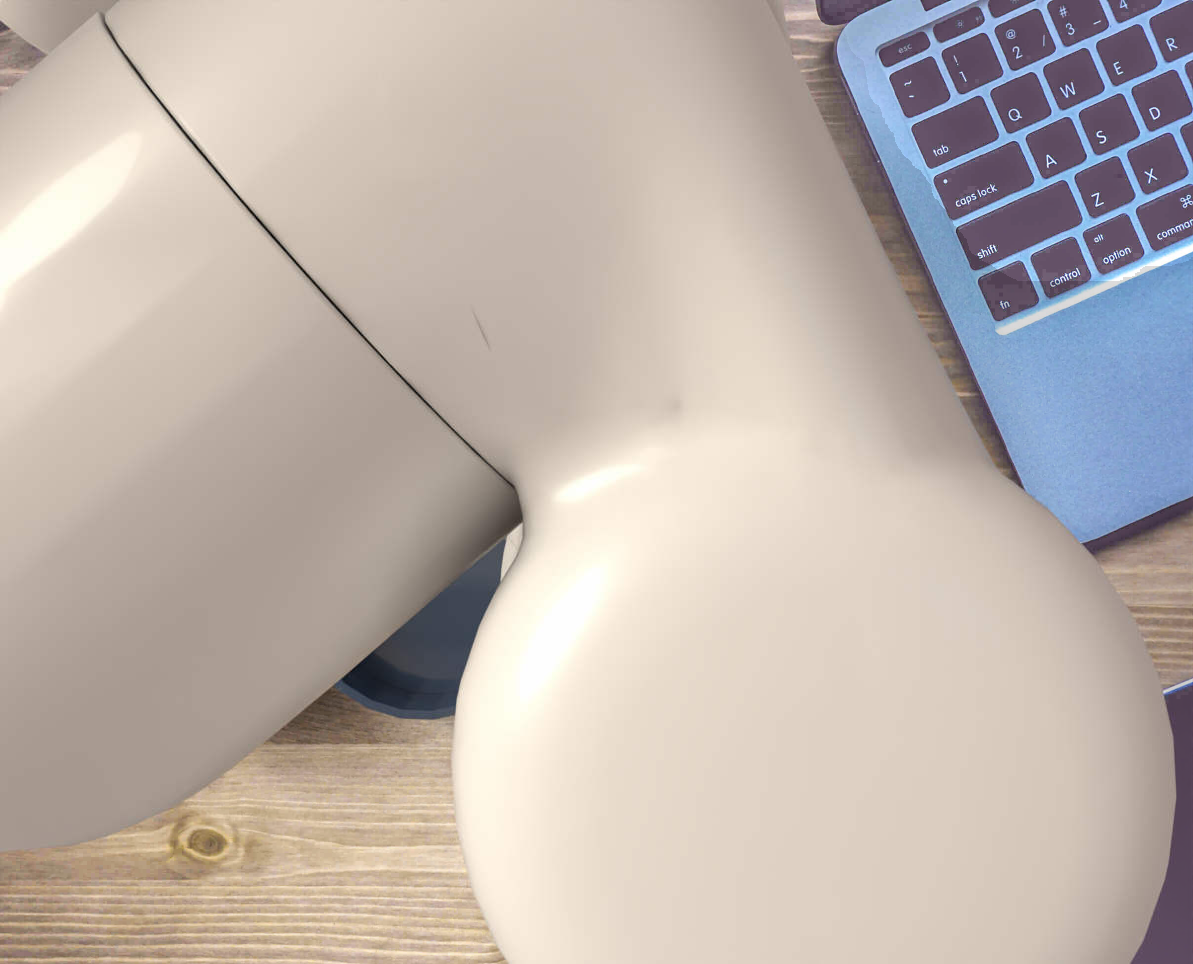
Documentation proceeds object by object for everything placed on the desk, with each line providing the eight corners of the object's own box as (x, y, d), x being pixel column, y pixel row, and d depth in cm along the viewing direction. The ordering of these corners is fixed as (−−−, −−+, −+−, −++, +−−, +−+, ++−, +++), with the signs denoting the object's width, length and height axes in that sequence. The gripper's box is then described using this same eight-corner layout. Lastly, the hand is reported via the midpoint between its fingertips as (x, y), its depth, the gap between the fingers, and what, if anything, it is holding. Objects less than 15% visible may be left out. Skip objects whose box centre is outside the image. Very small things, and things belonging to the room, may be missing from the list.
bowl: (355, 432, 61) (334, 429, 56) (584, 501, 61) (582, 504, 56) (287, 660, 61) (260, 676, 56) (515, 729, 61) (507, 751, 56)
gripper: (1098, 557, 20) (861, 516, 39) (386, 342, 20) (488, 403, 39) (1000, 874, 20) (810, 683, 39) (291, 659, 20) (438, 570, 39)
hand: (649, 544), depth 38 cm, fingers closed on yellow sponge, 4 cm apart
